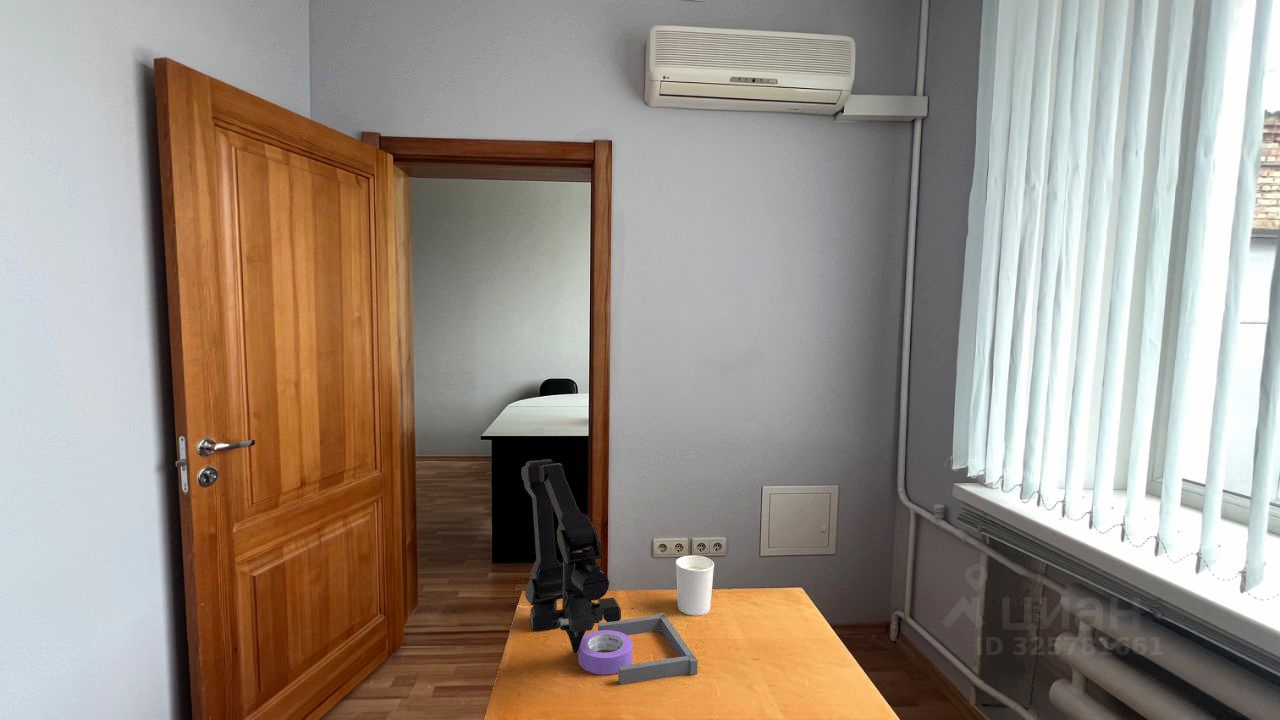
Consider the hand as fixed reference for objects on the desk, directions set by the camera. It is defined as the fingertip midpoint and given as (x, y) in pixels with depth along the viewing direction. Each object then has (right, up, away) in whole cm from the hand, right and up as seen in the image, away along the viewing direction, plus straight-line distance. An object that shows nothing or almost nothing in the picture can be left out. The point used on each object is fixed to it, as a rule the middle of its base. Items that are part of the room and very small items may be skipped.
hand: (575, 652), depth 132 cm
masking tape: (+6, -3, +2) cm, 7 cm away
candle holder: (+28, -2, +27) cm, 38 cm away
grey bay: (+15, -2, +5) cm, 16 cm away
